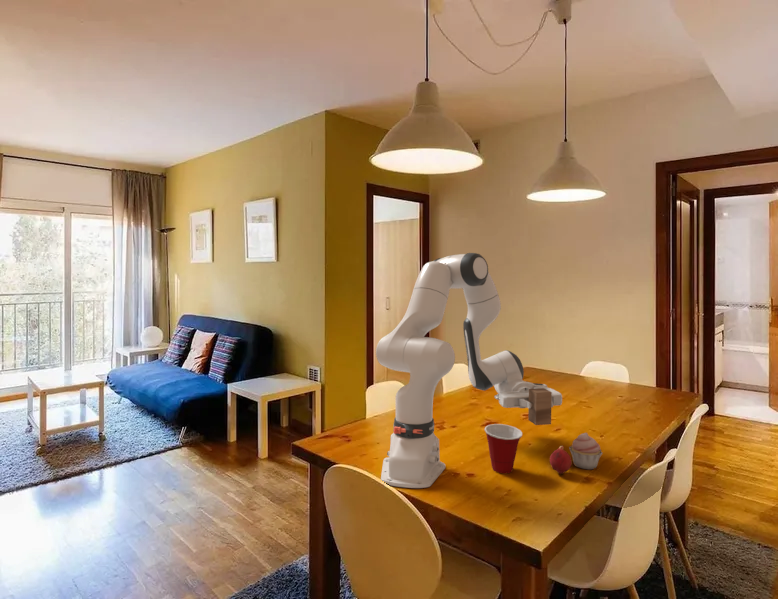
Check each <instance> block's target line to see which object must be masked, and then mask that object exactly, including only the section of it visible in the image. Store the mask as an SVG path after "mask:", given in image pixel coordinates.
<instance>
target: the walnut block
mask: <svg viewBox="0 0 778 599" xmlns="http://www.w3.org/2000/svg"><path fill="white" fill-rule="evenodd" d="M551 399H552V392H550V391H548V390H546V389H544V388H537V389H529V401H531V402H533V403H534V405H533V406H534V408H528V413H527V414H528V421H529V422H530V423H533V425H535V426H546V425H552V407H551Z"/></svg>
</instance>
